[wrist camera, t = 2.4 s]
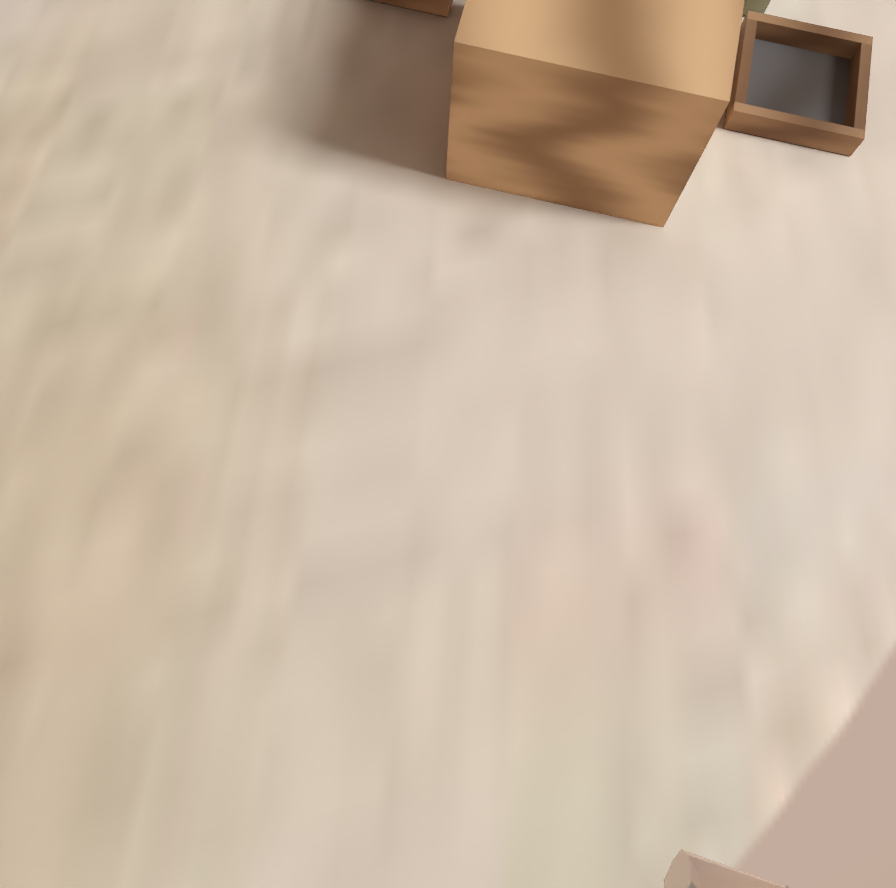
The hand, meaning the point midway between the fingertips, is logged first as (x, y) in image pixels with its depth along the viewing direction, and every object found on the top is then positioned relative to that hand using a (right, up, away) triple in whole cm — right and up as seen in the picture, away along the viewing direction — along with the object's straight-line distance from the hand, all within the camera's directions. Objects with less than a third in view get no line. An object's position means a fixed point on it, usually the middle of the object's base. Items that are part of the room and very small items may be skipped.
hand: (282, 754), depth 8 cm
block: (+8, +19, +29) cm, 35 cm away
